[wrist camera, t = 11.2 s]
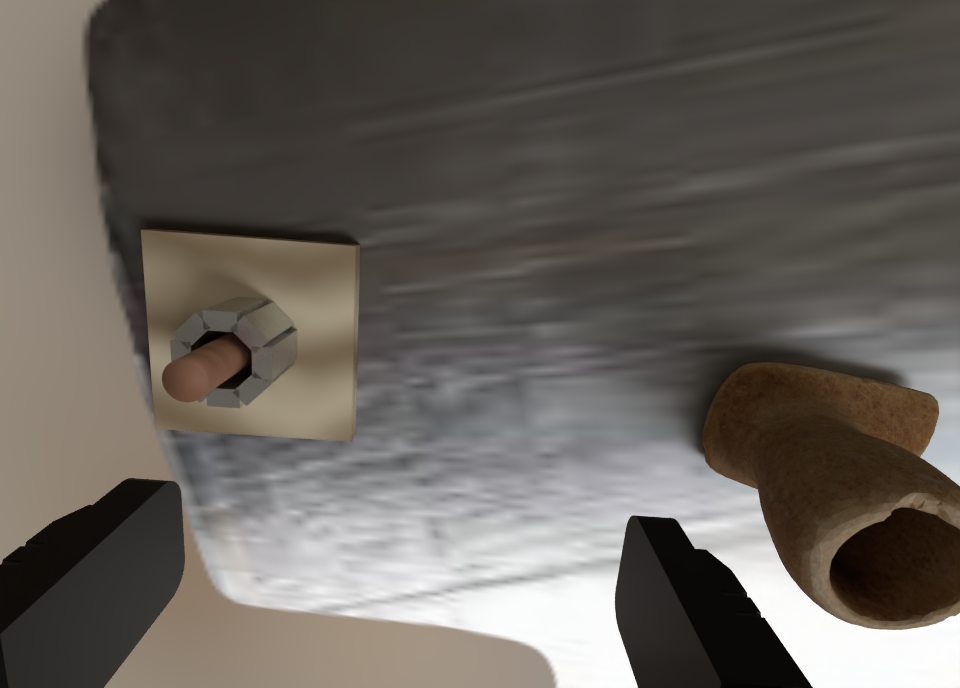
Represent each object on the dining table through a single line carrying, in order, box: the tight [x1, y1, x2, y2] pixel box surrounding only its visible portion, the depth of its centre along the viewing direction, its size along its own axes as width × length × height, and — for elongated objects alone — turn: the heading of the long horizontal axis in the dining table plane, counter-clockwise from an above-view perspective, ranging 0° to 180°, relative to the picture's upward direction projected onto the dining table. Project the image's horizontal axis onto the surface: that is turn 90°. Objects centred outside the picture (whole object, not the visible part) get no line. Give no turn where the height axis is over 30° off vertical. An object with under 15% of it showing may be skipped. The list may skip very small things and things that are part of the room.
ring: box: [170, 297, 298, 408], centre depth 35 cm, size 6×6×5 cm
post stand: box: [141, 229, 360, 442], centre depth 34 cm, size 14×14×10 cm
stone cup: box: [702, 362, 960, 630], centre depth 34 cm, size 15×12×15 cm
